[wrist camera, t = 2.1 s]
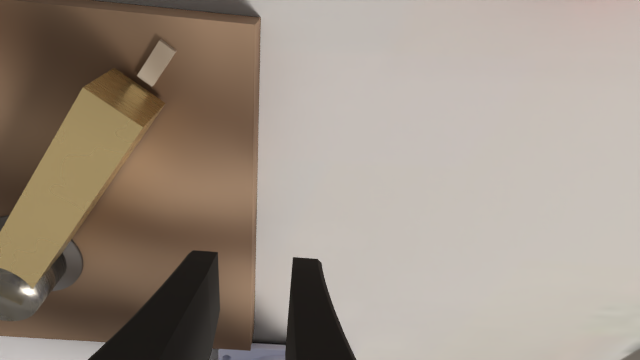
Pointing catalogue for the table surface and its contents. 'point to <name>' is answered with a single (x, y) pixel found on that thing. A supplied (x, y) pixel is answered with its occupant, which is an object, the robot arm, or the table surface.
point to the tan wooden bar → (69, 187)
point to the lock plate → (139, 155)
